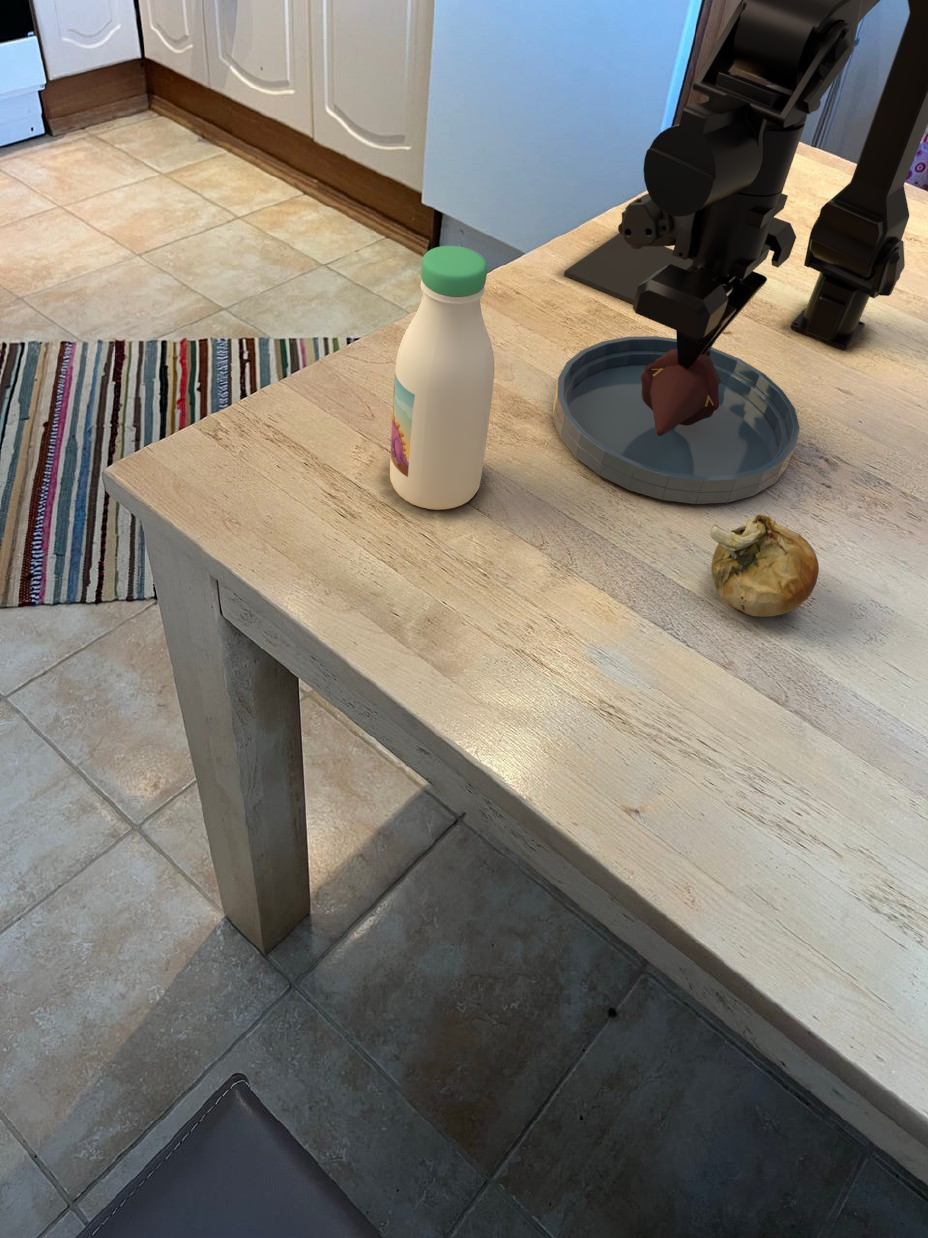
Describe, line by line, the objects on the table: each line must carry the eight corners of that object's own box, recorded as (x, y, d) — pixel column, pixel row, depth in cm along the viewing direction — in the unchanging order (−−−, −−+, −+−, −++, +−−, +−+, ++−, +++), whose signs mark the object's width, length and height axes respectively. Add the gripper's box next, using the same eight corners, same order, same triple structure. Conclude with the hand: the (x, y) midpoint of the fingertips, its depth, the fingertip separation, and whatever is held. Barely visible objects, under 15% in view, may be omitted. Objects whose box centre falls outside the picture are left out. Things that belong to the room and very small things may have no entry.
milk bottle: (491, 469, 82) (523, 248, 68) (462, 523, 77) (490, 297, 63) (408, 444, 84) (423, 223, 69) (375, 496, 79) (382, 269, 64)
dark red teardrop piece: (719, 425, 78) (753, 339, 87) (641, 380, 78) (684, 298, 87) (677, 482, 83) (713, 394, 93) (604, 439, 83) (648, 356, 93)
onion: (757, 651, 71) (795, 575, 65) (679, 587, 75) (707, 510, 69) (818, 609, 74) (858, 534, 68) (740, 550, 78) (772, 474, 72)
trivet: (622, 234, 115) (623, 229, 115) (749, 284, 110) (751, 279, 109) (563, 275, 107) (564, 270, 107) (698, 332, 101) (700, 326, 101)
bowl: (622, 337, 99) (628, 311, 97) (821, 424, 92) (833, 397, 90) (507, 434, 86) (511, 406, 84) (728, 543, 79) (739, 516, 76)
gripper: (702, 116, 80) (658, 287, 92) (594, 182, 69) (559, 367, 81) (826, 157, 76) (764, 330, 88) (733, 234, 65) (675, 420, 77)
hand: (691, 358), depth 83 cm, fingers closed on dark red teardrop piece, 2 cm apart
